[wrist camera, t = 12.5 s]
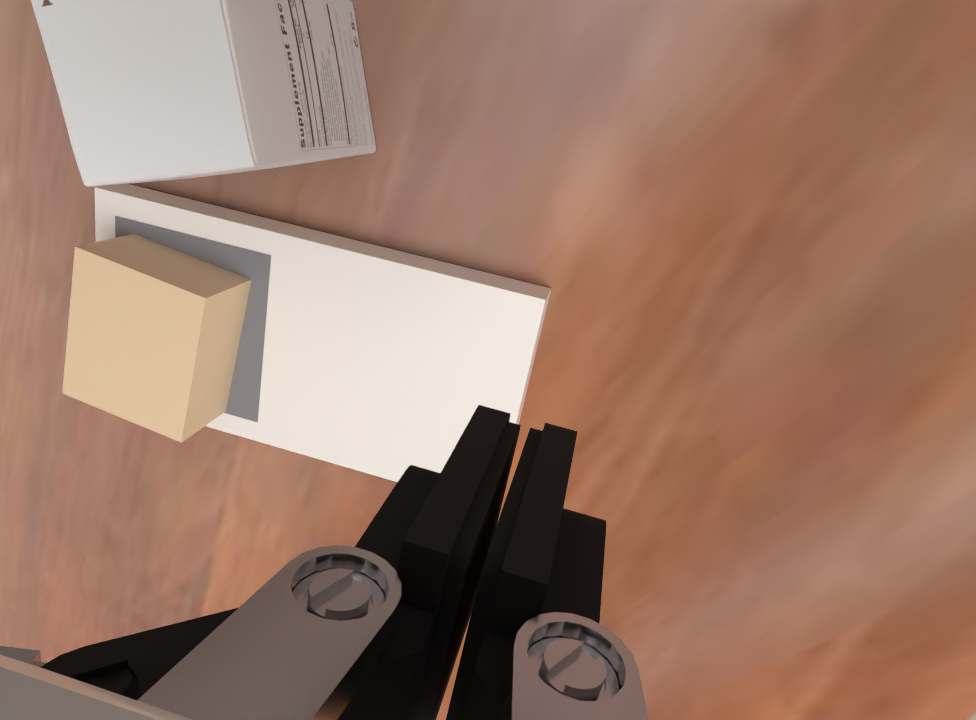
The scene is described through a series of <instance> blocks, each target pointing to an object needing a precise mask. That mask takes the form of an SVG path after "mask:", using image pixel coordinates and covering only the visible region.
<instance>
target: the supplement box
mask: <svg viewBox="0 0 976 720" xmlns="http://www.w3.org/2000/svg"><path fill="white" fill-rule="evenodd" d="M31 3H32V6H33V9H34V12H35V16H36V19H37V22H38V26H39V29H40V33H41V36H42V39H43V43H44V46H45V50H46V53H47V57H48V60H49V64H50V67H51V70H52V74H53V78H54V81H55V85H56V88H57V92H58V95H59V99H60V103H61V107H62V111H63V115H64V118H65V122H66V126H67V130H68V134H69V138H70V141H71V145H72V149H73V152H74V155H75V158H76V161H77V165H78V168H79V171H80V174H81V177H82V180H83V183H84V185H85V186H103V185H116V184H129V183H143V182H154V181H165V180H175V179H185V178H195V177H204V176H213V175H222V174H230V173H239V172H247V171H254V170H262V169H270V168H277V167H284V166H291V165H298V164H305V163H311V162H317V161H324V160H330V159H337V158H343V157H350V156H357V155H365V154H372V153H375V151H376V145H375V138H374V132H373V125H372V119H371V113H370V106H369V100H368V94H367V88H366V81H365V75H364V69H363V63H362V56H361V50H360V44H359V38H358V31H357V25H356V18H355V12H354V6H353V2H352V1H351V0H31Z"/></svg>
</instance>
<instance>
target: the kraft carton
mask: <svg viewBox="0 0 976 720" xmlns="http://www.w3.org/2000/svg"><path fill="white" fill-rule="evenodd" d="M250 285H251V279H248V278H246V277H243V276H241V275H238V274H235V273H233V272H230V271H228V270H225V269H223V268H220V267H218V266H215V265H212V264H210V263H207V262H205V261H202V260H200V259H197V258H195V257H192V256H189V255H187V254H184V253H182V252H179V251H177V250H174V249H172V248H169V247H166V246H164V245H161V244H159V243H156V242H154V241H151V240H148V239H146V238H143V237H141V236H138V235H136V234H131V235H126V236H122V237H117V238H113V239H108V240H103V241H99V242H94V243H90V244H85V245H81V246H76V247H75V254H74V266H73V277H72V289H71V300H70V312H69V323H68V335H67V346H66V358H65V369H64V381H63V392H62V393H63V394H65V395H68V396H70V397H73V398H75V399H78V400H80V401H82V402H85V403H87V404H90V405H92V406H94V407H97V408H99V409H102V410H104V411H106V412H109V413H111V414H114V415H116V416H118V417H121V418H123V419H126V420H128V421H131V422H133V423H135V424H138V425H140V426H143V427H145V428H147V429H150V430H152V431H155V432H157V433H159V434H162V435H164V436H167V437H169V438H172V439H174V440H176V441H179V442H183V441H184V440H186V439H187V438H189V437H190V436H191V435H193V434H194V433H196V432H197V431H199V430H200V429H201V428H203V427H204V426H206V425H207V424H208V423H210V422H211V421H213V420H214V419H216V418H217V417H218V416H220V415H221V414H223V413H224V412H226V408H227V403H228V398H229V392H230V387H231V382H232V377H233V372H234V367H235V362H236V357H237V351H238V346H239V341H240V336H241V331H242V326H243V321H244V316H245V310H246V305H247V300H248V295H249V290H250Z"/></svg>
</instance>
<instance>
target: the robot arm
mask: <svg viewBox="0 0 976 720" xmlns="http://www.w3.org/2000/svg"><path fill="white" fill-rule="evenodd" d="M509 420H510V413H507V412H504V411H500V410H496V409H493V408H489V407H485V406H482V405H478V407H477V408H476V410H475V412H474V414H473V416H472V417H471V419H470V421H469V423H468V425H467V426H466V428H465V430H464V432H463V434H462V435H461V437H460V439H459V441H458V443H457V444H456V446H455V448H454V450H453V452H452V453H451V455H450V457H449V459H448V461H447V462H446V464H445V466H444V468H443V470H442V471H441V473H438V472H435V471H431V470H428V469H424V468H421V467H417V466H414V465H410V466H409V467H408V468H407V469H406V470H405V472H404V474H403V475H402V477H401V478H400V480H399V481H398V483H397V484H396V486H395V487H394V489H393V490H392V492H391V493H390V495H389V496H388V498H387V499H386V501H385V502H384V504H383V505H382V507H381V508H380V510H379V511H378V513H377V514H376V516H375V517H374V519H373V520H372V522H371V523H370V525H369V526H368V528H367V529H366V531H365V532H364V534H363V535H362V537H361V538H360V540H359V541H358V543H357V545H356V546H355V547H349V546H338V545H336V546H327V547H319V548H316V549H313V550H310V551H307V552H304V553H302V554H300V555H299V556H297V557H296V558H294V559H293V560H291V561H290V562H289V563H288V564H286V565H285V566H284V567H283V568H282V569H281V570H280V571H279V572H278V573H277V574H275V575H274V576H273V577H272V578H271V579H270V580H269V581H268V582H267V583H266V584H264V585H263V586H262V587H261V588H260V589H259V590H258V591H257V592H256V593H255V594H253V595H252V596H251V597H250V598H249V599H248V600H247V601H246V602H245V603H244V604H242V605H241V606H240V607H239V608H236V609H232V610H228V611H224V612H220V613H216V614H212V615H208V616H204V617H200V618H196V619H192V620H188V621H184V622H180V623H176V624H172V625H168V626H164V627H160V628H156V629H152V630H148V631H144V632H140V633H136V634H132V635H128V636H124V637H120V638H116V639H112V640H108V641H104V642H100V643H96V644H92V645H88V646H85V647H82V648H79V649H76V650H73V651H70V652H68V653H65V654H62V655H60V656H58V657H56V658H55V659H53V660H51V661H50V662H48V663H44V662H41V657H40V651H39V650H31V649H22V648H13V647H5V646H0V720H436V717H437V714H438V711H439V708H440V705H441V703H442V700H443V697H444V694H445V691H446V688H447V685H448V682H449V679H450V676H451V673H452V670H453V667H454V664H455V661H456V658H457V655H458V652H459V649H460V646H461V643H462V640H463V637H464V634H465V631H466V628H467V625H468V622H469V619H470V622H469V626H468V630H467V634H466V639H465V643H464V647H463V651H462V655H461V659H460V664H459V668H458V672H457V676H456V680H455V684H454V689H453V693H452V697H451V701H450V705H449V709H448V714H447V718H446V720H648V716H647V711H646V706H645V701H644V695H643V690H642V685H641V680H640V675H639V670H638V668H637V665H636V662H635V660H634V657H633V655H632V653H631V652H630V651H629V649H628V648H627V647H626V645H625V644H624V643H623V641H622V640H621V639H619V638H618V637H617V636H616V635H615V634H614V633H612V632H611V631H610V630H609V629H608V628H606V627H604V626H602V625H600V624H599V620H600V606H601V592H602V578H603V564H604V550H605V536H606V521H605V520H602V519H598V518H595V517H591V516H588V515H585V514H581V513H578V512H574V511H571V510H567V509H564V508H563V505H564V500H565V495H566V489H567V484H568V479H569V473H570V468H571V462H572V457H573V452H574V446H575V441H576V436H577V431H573V430H570V429H566V428H562V427H559V426H555V425H551V424H548V423H545V426H544V429H543V431H540V430H537V429H533V428H530V431H529V434H528V436H527V439H526V442H525V445H524V448H523V451H522V454H521V457H520V460H519V463H518V466H517V468H516V471H515V474H514V477H513V480H512V483H511V486H510V489H509V492H508V495H507V498H506V500H505V503H504V506H503V509H502V512H501V515H500V518H499V514H500V510H501V505H502V501H503V497H504V493H505V489H506V485H507V481H508V477H509V472H510V468H511V464H512V460H513V456H514V452H515V448H516V444H517V439H518V435H519V431H520V425H518V424H515V423H511V422H509ZM498 518H499V521H498ZM497 522H498V524H497ZM496 526H497V527H496ZM470 616H471V618H470Z"/></svg>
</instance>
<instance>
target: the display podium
mask: <svg viewBox="0 0 976 720" xmlns="http://www.w3.org/2000/svg"><path fill="white" fill-rule="evenodd" d="M95 233H96V242H99V241H103V240H108V239H113V238H117V237H122V236H126V235H131V234H136V235H138V236H141V237H143V238H146V239H148V240H151V241H154V242H156V243H159V244H161V245H164V246H166V247H169V248H172V249H174V250H177V251H179V252H182V253H184V254H187V255H189V256H192V257H195V258H197V259H200V260H202V261H205V262H207V263H210V264H212V265H215V266H218V267H220V268H223V269H225V270H228V271H230V272H233V273H235V274H238V275H241V276H243V277H246V278H248V279H251V285H250V290H249V295H248V300H247V305H246V310H245V316H244V321H243V326H242V331H241V336H240V341H239V346H238V351H237V357H236V362H235V367H234V372H233V377H232V382H231V387H230V392H229V398H228V403H227V408H226V412H224V413H223V414H221V415H220V416H218V417H217V418H216V419H214V420H213V421H211V422H210V423H208V424H207V425H206V426H207V427H210V428H214V429H217V430H220V431H224V432H227V433H231V434H234V435H238V436H241V437H245V438H248V439H251V440H255V441H258V442H262V443H265V444H269V445H272V446H275V447H279V448H282V449H286V450H289V451H293V452H296V453H300V454H303V455H306V456H310V457H313V458H317V459H320V460H324V461H327V462H330V463H334V464H337V465H341V466H344V467H348V468H351V469H354V470H358V471H361V472H365V473H368V474H372V475H375V476H379V477H382V478H385V479H389V480H392V481H396V482H398V481H399V480H400V478H401V477H402V475H403V474H404V472H405V470H406V469H407V468H408V467H409V466H410V465H414V466H417V467H421V468H424V469H428V470H431V471H435V472H438V473H441V471H442V470H443V468H444V466H445V464H446V462H447V461H448V459H449V457H450V455H451V453H452V452H453V450H454V448H455V446H456V444H457V443H458V441H459V439H460V437H461V435H462V434H463V432H464V430H465V428H466V426H467V425H468V423H469V421H470V419H471V417H472V416H473V414H474V412H475V410H476V408H477V407H478V405H482V406H485V407H489V408H493V409H496V410H500V411H504V412H507V413H510V420H509V422H511V423H515V424H518V425H519V421H520V417H521V413H522V408H523V404H524V400H525V396H526V392H527V388H528V384H529V379H530V375H531V371H532V367H533V363H534V359H535V354H536V350H537V346H538V342H539V338H540V334H541V330H542V325H543V321H544V317H545V313H546V309H547V305H548V300H549V296H550V292H551V288H547V287H543V286H539V285H535V284H531V283H527V282H523V281H519V280H515V279H511V278H507V277H503V276H499V275H495V274H491V273H487V272H483V271H479V270H475V269H471V268H467V267H462V266H458V265H454V264H450V263H446V262H442V261H438V260H434V259H430V258H426V257H422V256H418V255H414V254H410V253H406V252H402V251H398V250H394V249H390V248H386V247H382V246H378V245H374V244H369V243H365V242H361V241H357V240H353V239H349V238H345V237H341V236H337V235H333V234H329V233H325V232H321V231H317V230H313V229H309V228H305V227H301V226H297V225H293V224H289V223H285V222H280V221H276V220H272V219H268V218H264V217H260V216H256V215H252V214H248V213H244V212H240V211H236V210H232V209H228V208H224V207H220V206H216V205H212V204H208V203H204V202H200V201H196V200H191V199H187V198H183V197H179V196H175V195H171V194H167V193H163V192H159V191H155V190H151V189H147V188H143V187H139V186H135V185H131V184H119V185H111V186H102V187H95Z"/></svg>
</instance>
